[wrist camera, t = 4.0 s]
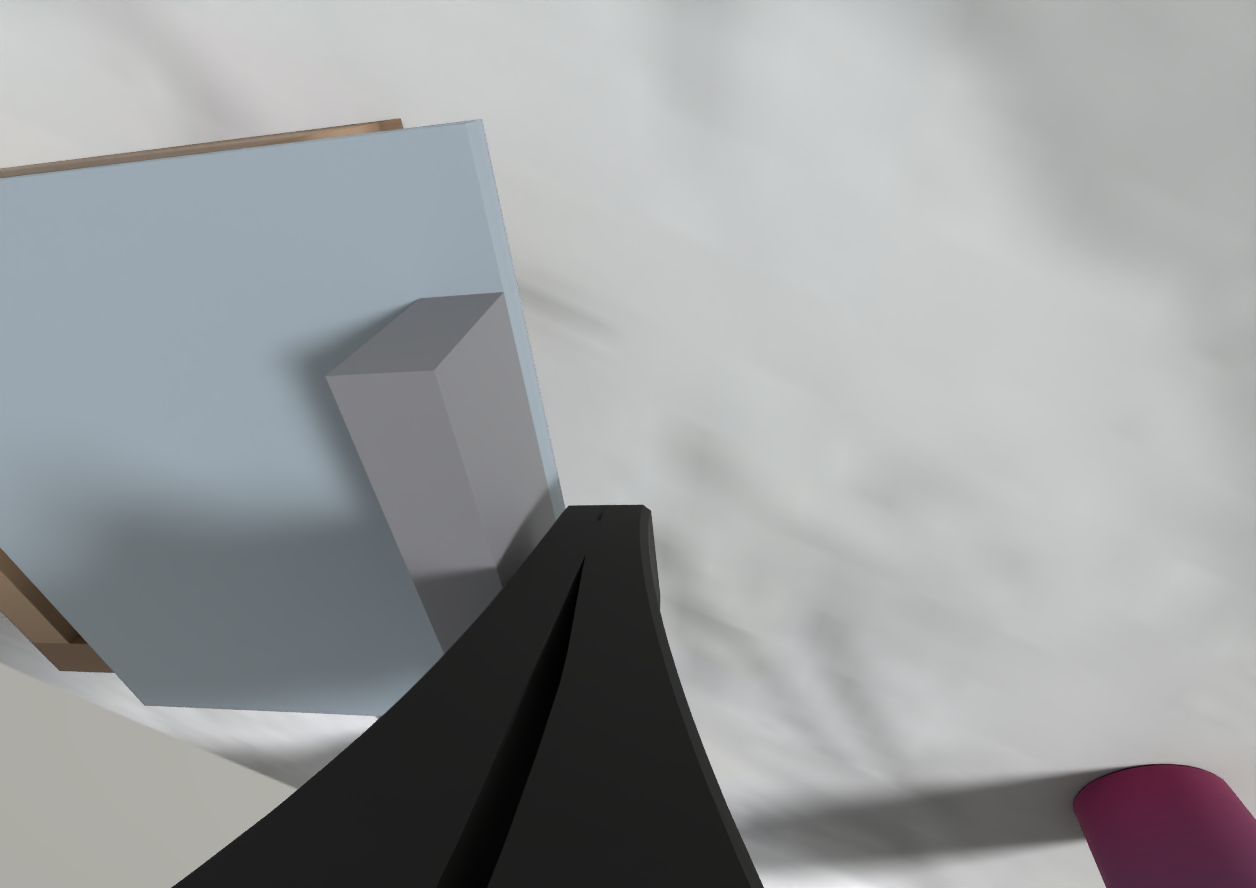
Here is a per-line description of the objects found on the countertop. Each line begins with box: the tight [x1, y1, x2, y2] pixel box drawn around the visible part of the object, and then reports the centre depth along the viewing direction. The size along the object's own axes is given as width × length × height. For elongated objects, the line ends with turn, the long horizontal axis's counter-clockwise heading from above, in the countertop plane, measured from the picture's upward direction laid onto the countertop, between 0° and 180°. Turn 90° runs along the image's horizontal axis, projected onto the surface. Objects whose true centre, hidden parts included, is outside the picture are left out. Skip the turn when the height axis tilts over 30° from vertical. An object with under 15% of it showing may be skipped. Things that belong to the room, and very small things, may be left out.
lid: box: [0, 119, 565, 716], centre depth 10 cm, size 12×12×3 cm
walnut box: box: [0, 119, 403, 673], centre depth 14 cm, size 12×12×5 cm
